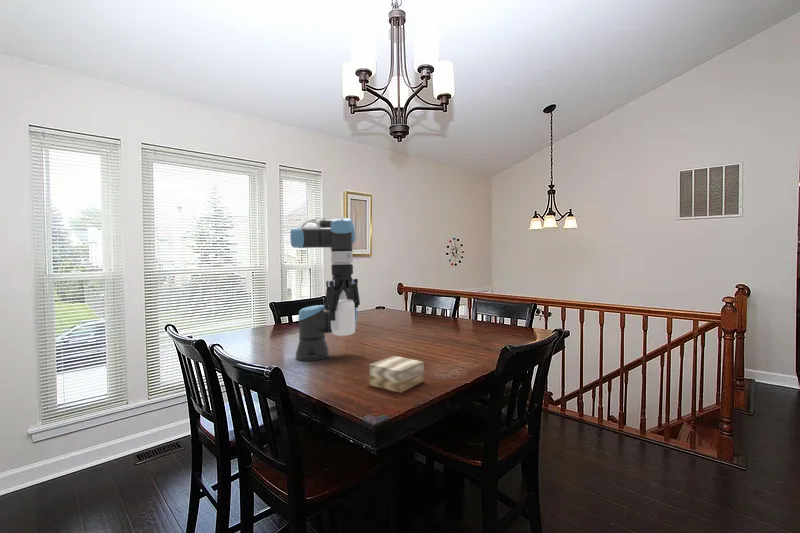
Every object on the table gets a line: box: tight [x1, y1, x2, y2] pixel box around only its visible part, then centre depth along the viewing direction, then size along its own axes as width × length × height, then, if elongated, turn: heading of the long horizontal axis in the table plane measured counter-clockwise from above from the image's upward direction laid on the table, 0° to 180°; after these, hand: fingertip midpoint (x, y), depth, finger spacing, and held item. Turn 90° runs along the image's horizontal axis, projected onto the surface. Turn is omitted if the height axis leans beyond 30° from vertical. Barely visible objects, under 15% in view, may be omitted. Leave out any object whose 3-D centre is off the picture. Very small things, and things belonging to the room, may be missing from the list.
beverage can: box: [331, 299, 356, 337], centre depth 138 cm, size 8×8×12 cm
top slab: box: [369, 355, 425, 383], centre depth 140 cm, size 14×14×4 cm
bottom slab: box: [368, 373, 424, 394], centre depth 141 cm, size 14×14×4 cm
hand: (343, 327), depth 138 cm, fingers closed on beverage can, 8 cm apart
